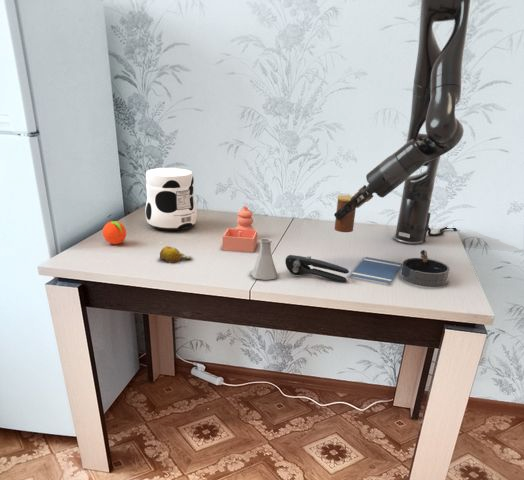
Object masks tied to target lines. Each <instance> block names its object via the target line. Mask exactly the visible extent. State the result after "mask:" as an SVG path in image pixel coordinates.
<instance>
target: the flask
mask: <svg viewBox="0 0 524 480" xmlns="http://www.w3.org/2000/svg"><path fill="white" fill-rule="evenodd" d="M272 241H273V239H271V238H268V237H261V238H260V239H259V243H260V247H259V252H258V256H257V258H256V261H255V264H254V266H253V268H252V270H251V274H250V275H251V276H252V277H253V278H254V279H256V280H265V281H266V280H267V281H268V280H274V279H275V280H276V278H277V276H278V272H277V268H276V265H275V263H274V259H273V255H272V249H271V244H272Z"/></svg>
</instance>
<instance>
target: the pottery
mask: <svg viewBox="0 0 524 480" xmlns="http://www.w3.org/2000/svg"><path fill="white" fill-rule="evenodd" d="M237 215H238V216H237V218H236V222H237V226H236V227H235V228H234V227H233V228H231V227H227V229H226V231H225V232H224V233H223V235H222V251H232V252H245V253H254V251H255V249H256V247H257V245H258V230H257V229H255V228H254V226H253V225H252V224H253V223H254V218H253V215H254V213H253V211H252V210H250V209H249V207H248V205H247V206H246V205H245V206H242V209H239V210H238V212H237Z"/></svg>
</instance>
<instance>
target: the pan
mask: <svg viewBox="0 0 524 480" xmlns="http://www.w3.org/2000/svg"><path fill="white" fill-rule="evenodd" d="M423 259H424V258H421V257H412V258H407V259H405V260H403V261H402V265H401V270H400V278H401V279H402V280H403V281H405V282H406V283H409V284H412V285H415V286H420V287H427V288H438V287H442V286H445V285H446V284H447V283H448V280H449V276H450V271H451V267H450V266H449V265H448V264H446V263H444V262H443V261H440V260H437V259H431V258H428V259H427V260H428V264H427V265H423V264H422V260H423Z"/></svg>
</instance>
